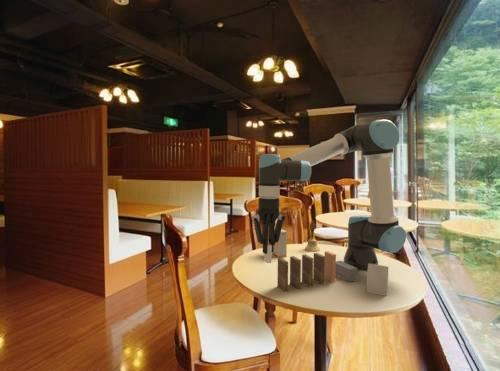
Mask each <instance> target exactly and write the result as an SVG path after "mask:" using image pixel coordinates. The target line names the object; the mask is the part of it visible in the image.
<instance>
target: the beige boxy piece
mask: <svg viewBox="0 0 500 371" xmlns="http://www.w3.org/2000/svg"><path fill="white" fill-rule="evenodd" d="M366 271H367V272H366V290H365V291H366V292H368V293H373V294H377V295H381V296H388V292H389V266H387V265H386V266H385V265H380V264H378V265H375V264H369V263H368V270H366Z"/></svg>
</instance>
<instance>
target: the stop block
mask: <svg viewBox="0 0 500 371" xmlns="http://www.w3.org/2000/svg"><path fill="white" fill-rule="evenodd" d="M358 273H359V269H358V268H356V267H354V266H352V265H349V264H347V263H345V262H344V261H342V260H336V275H335V276H337V277H339V278H341V279H343V280H345V281H347V282H349V283H350V282H355V281H358Z"/></svg>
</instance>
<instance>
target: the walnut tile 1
mask: <svg viewBox="0 0 500 371" xmlns="http://www.w3.org/2000/svg"><path fill="white" fill-rule="evenodd" d="M277 288H279V289H280V290H281V291H282V292H283V293H285V292H289V261H288V260H286V259H284V257H277Z"/></svg>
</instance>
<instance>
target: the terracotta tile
mask: <svg viewBox="0 0 500 371" xmlns="http://www.w3.org/2000/svg"><path fill="white" fill-rule="evenodd" d="M324 256H325V271H324V280H325V279H326V280H328V281H329V282H330V283H335V282H336V276H337V275H336V261H337V254H336V253H333V252H330V251H327V250H326V251H324Z"/></svg>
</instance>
